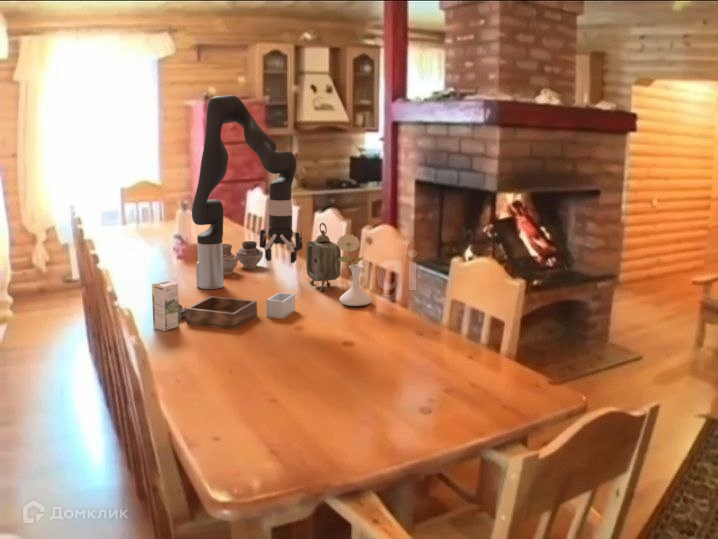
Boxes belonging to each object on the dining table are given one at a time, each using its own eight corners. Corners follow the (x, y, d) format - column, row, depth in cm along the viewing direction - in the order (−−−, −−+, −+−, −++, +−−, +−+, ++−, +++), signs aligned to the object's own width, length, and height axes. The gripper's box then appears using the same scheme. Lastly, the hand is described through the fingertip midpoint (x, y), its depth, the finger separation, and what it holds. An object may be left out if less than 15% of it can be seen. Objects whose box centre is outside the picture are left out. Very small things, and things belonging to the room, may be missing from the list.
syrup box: (167, 323, 235) (165, 279, 231) (180, 327, 231) (178, 282, 228) (153, 328, 230) (150, 283, 227) (165, 331, 227) (163, 286, 223)
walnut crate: (186, 323, 235) (186, 308, 234) (211, 310, 250) (210, 296, 249) (234, 329, 230) (234, 314, 229) (256, 315, 245) (256, 301, 244)
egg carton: (178, 313, 247) (178, 301, 247) (193, 317, 243) (192, 305, 242) (152, 319, 239) (151, 307, 238) (166, 324, 235) (166, 312, 234)
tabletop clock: (306, 283, 287) (306, 220, 282) (327, 282, 291) (328, 219, 285) (318, 293, 274) (319, 226, 269) (341, 290, 278) (342, 225, 272)
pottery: (208, 273, 301) (207, 245, 298) (248, 262, 322) (247, 236, 319) (229, 277, 295) (228, 248, 292) (268, 266, 316) (268, 239, 313)
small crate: (266, 317, 244) (266, 299, 243) (278, 309, 253) (278, 292, 252) (283, 319, 242) (283, 301, 241) (295, 311, 251) (294, 294, 250)
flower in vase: (375, 302, 264) (377, 233, 258) (365, 310, 253) (367, 238, 248) (341, 298, 268) (342, 230, 262) (330, 306, 257) (330, 235, 252)
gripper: (255, 213, 239) (256, 262, 242) (296, 216, 234) (296, 265, 238) (265, 210, 246) (266, 257, 249) (305, 212, 241) (305, 261, 245)
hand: (281, 261), depth 244 cm, fingers open, 8 cm apart
